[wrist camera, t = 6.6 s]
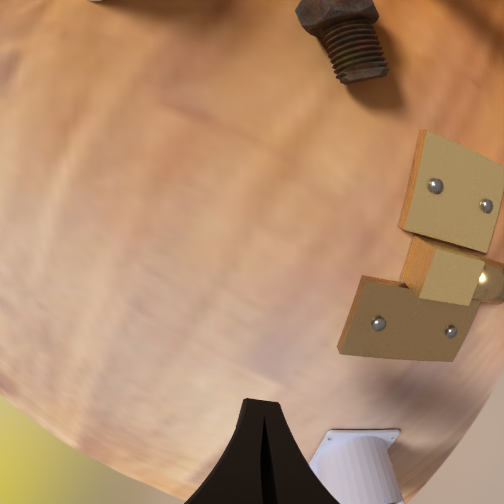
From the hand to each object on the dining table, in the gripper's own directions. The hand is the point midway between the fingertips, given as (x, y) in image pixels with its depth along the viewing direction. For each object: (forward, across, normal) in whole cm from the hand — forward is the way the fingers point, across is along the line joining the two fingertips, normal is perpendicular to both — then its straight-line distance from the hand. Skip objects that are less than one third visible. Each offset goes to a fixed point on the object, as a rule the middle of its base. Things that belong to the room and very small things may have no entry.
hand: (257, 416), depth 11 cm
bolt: (+11, +1, -22) cm, 24 cm away
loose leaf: (+10, -12, -8) cm, 18 cm away
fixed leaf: (+10, -12, -2) cm, 16 cm away
